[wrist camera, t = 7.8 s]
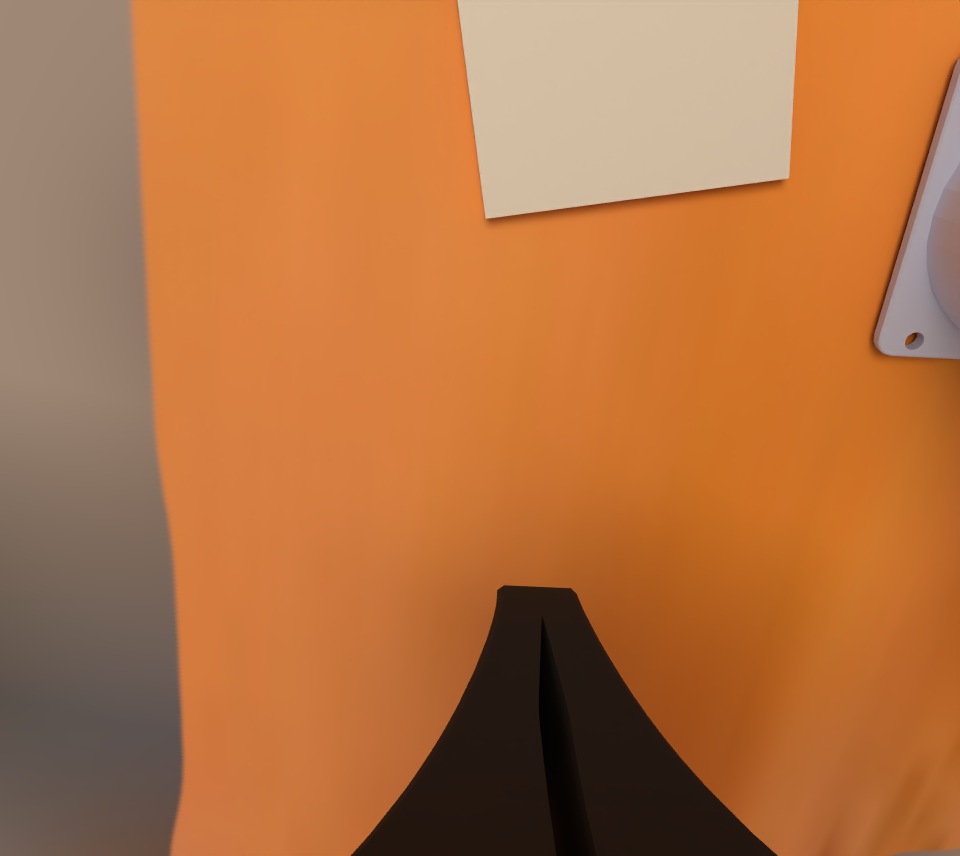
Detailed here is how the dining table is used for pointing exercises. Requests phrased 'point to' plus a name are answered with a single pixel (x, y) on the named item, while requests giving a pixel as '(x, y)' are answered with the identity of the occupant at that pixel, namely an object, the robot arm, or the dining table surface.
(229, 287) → the dining table surface
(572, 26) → the napkin
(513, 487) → the dining table surface
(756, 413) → the dining table surface
